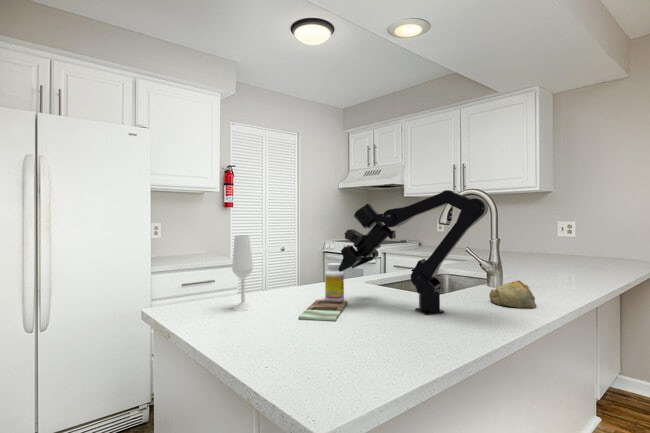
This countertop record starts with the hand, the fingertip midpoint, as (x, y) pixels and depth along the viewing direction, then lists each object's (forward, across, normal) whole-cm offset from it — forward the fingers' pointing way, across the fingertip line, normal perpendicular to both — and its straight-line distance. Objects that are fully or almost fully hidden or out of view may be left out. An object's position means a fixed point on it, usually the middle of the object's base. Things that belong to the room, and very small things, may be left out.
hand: (345, 269), depth 129 cm
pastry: (-28, -23, +44) cm, 57 cm away
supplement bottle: (+11, 0, +5) cm, 12 cm away
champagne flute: (+26, +24, -10) cm, 37 cm away
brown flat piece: (+8, +14, +8) cm, 18 cm away
